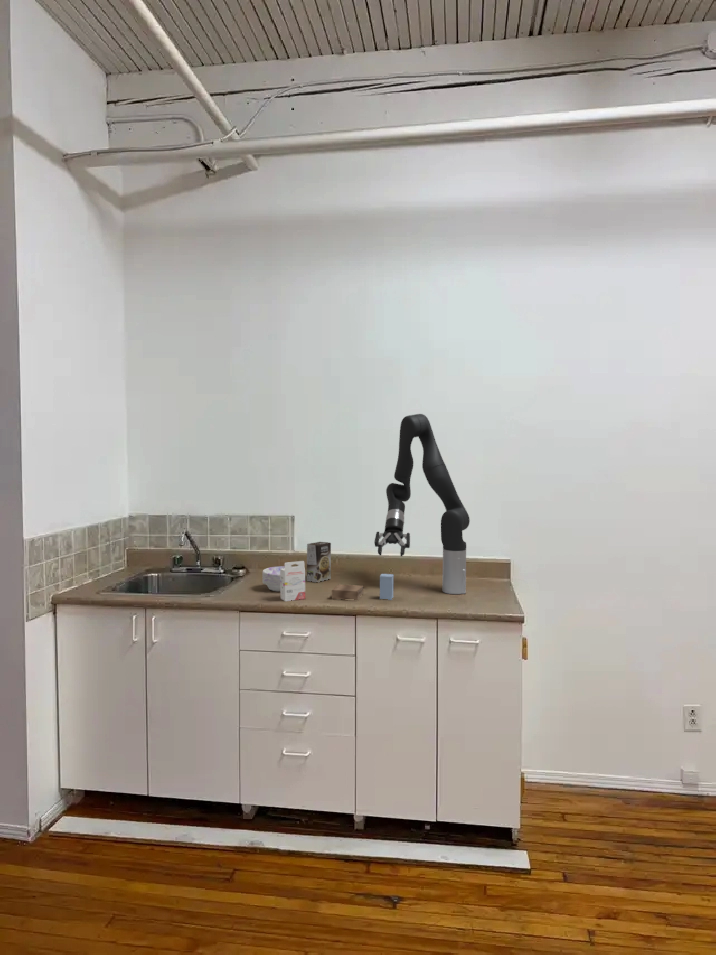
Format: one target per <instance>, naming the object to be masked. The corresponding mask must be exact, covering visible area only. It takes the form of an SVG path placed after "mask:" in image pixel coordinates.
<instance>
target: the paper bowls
mask: <svg viewBox="0 0 716 955" xmlns="http://www.w3.org/2000/svg"><path fill="white" fill-rule="evenodd" d="M284 568H285V565H283V566H282V565H281V566H271V567H267V568H264V569H263V570H262V574H261V575H262V579H261V580H262V581H261V582H262V584H263V585H266V586H267V588H268V589H269V590H270V591H273V592H280V569H284Z"/></svg>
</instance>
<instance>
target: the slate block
mask: <svg viewBox="0 0 716 955" xmlns="http://www.w3.org/2000/svg"><path fill="white" fill-rule="evenodd" d="M392 598H393V599H394V574H390V573H381V574H380V575H379V600H380V599H388V600H387V601H393V599H392Z"/></svg>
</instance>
